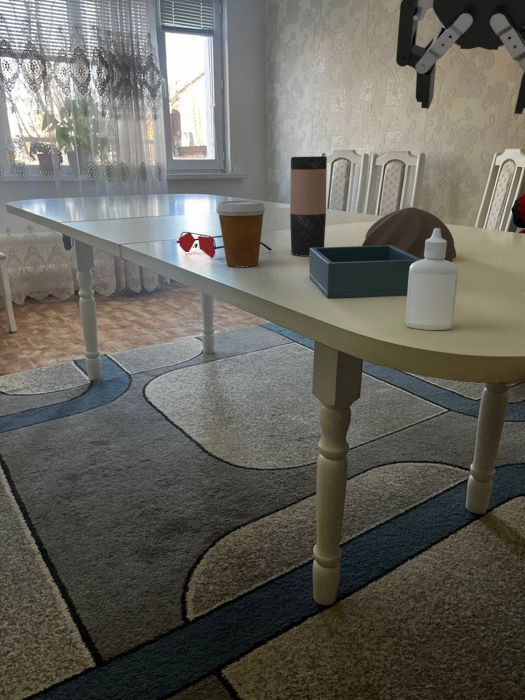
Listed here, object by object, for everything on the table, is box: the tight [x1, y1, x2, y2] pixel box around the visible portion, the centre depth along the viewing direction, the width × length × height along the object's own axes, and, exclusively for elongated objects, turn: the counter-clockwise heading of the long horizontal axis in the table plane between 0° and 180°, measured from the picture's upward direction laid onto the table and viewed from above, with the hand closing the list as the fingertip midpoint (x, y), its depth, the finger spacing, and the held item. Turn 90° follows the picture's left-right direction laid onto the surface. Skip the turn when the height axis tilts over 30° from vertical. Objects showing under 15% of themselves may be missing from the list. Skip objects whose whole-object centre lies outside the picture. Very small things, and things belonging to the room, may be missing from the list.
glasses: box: [175, 231, 273, 259], centre depth 121 cm, size 14×16×5 cm
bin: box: [308, 245, 422, 299], centre depth 88 cm, size 15×15×5 cm
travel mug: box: [289, 155, 328, 256], centre depth 115 cm, size 8×8×20 cm
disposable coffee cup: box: [215, 200, 267, 267], centre depth 106 cm, size 10×10×12 cm
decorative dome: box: [361, 206, 457, 263], centre depth 112 cm, size 19×20×10 cm
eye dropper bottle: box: [404, 228, 459, 331], centre depth 66 cm, size 4×6×12 cm
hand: (471, 106), depth 52 cm, fingers open, 8 cm apart
